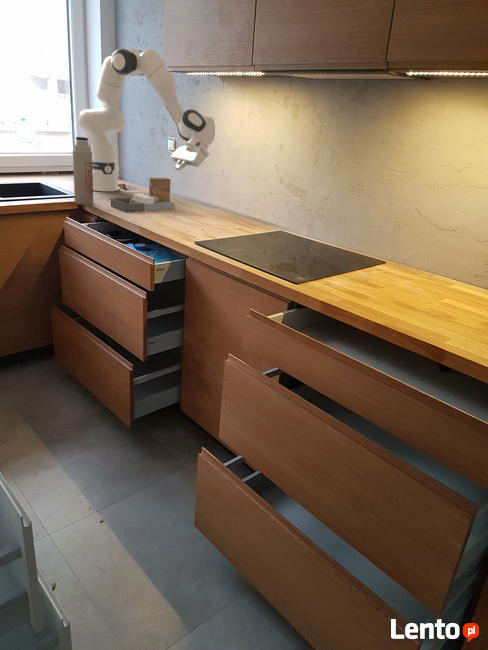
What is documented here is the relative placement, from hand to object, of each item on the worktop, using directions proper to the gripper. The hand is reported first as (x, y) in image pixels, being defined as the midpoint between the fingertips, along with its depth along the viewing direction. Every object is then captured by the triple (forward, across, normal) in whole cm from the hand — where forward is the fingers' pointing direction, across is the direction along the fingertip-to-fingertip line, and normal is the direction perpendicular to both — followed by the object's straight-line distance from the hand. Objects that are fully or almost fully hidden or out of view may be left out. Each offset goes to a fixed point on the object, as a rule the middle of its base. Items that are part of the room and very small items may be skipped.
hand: (177, 169), depth 229 cm
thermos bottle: (+39, -16, -15) cm, 45 cm away
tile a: (+22, -3, -2) cm, 23 cm away
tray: (+30, 0, -6) cm, 31 cm away
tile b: (+22, +3, -2) cm, 23 cm away
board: (+21, 0, +3) cm, 21 cm away
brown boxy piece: (+16, 0, +4) cm, 17 cm away
